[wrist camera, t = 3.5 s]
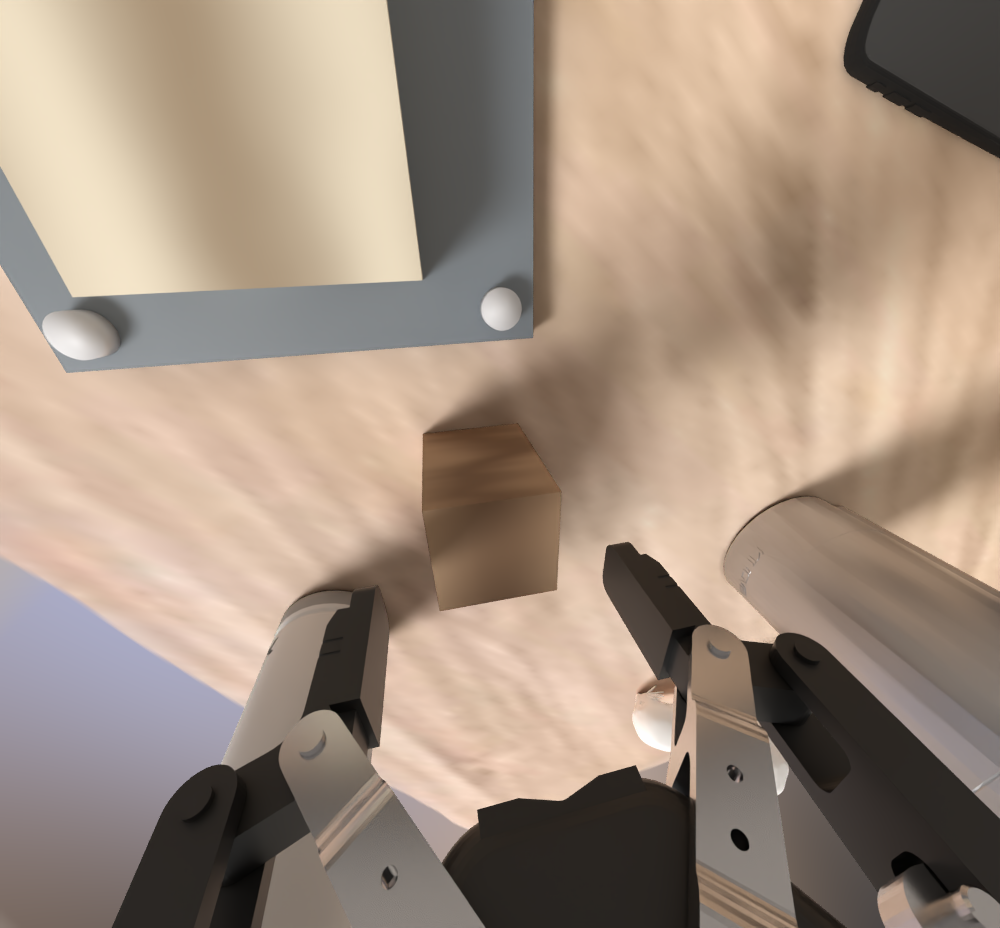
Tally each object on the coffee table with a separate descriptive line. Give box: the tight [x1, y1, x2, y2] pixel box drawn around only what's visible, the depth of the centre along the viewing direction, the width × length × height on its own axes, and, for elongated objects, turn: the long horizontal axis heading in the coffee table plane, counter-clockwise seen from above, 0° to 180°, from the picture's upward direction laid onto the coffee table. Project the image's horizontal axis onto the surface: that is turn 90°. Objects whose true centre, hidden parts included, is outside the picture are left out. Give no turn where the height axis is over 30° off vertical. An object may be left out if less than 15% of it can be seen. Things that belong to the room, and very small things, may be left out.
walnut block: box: [422, 423, 561, 611], centre depth 17 cm, size 5×5×7 cm
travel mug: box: [221, 590, 372, 928], centre depth 14 cm, size 6×7×20 cm
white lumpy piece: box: [632, 686, 789, 795], centre depth 32 cm, size 6×8×12 cm
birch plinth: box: [0, 0, 423, 297], centre depth 10 cm, size 9×9×4 cm
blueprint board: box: [0, 0, 534, 373], centre depth 11 cm, size 18×14×2 cm
